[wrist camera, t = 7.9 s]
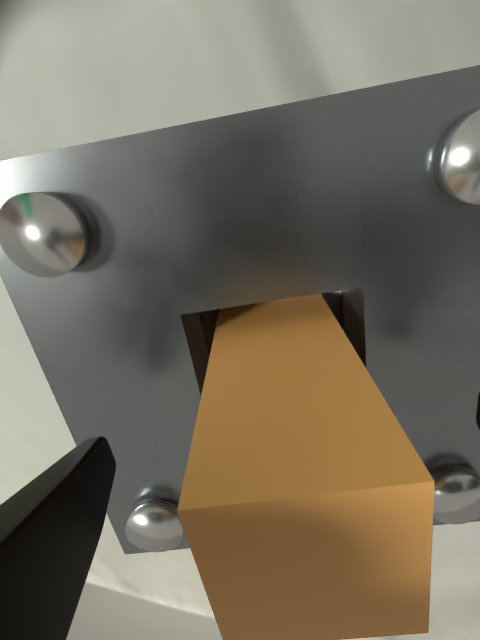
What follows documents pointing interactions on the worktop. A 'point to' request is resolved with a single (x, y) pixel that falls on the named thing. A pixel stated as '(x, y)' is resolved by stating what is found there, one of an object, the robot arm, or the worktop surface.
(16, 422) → the worktop surface
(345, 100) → the grey square hole plate
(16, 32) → the worktop surface
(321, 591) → the tan square peg
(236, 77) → the worktop surface
